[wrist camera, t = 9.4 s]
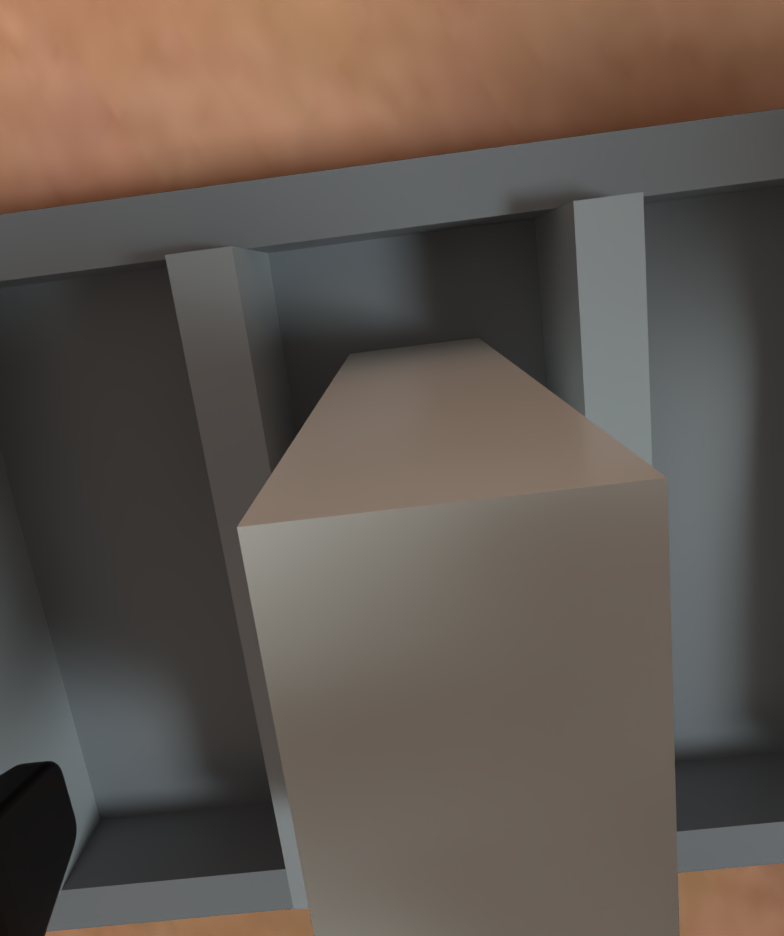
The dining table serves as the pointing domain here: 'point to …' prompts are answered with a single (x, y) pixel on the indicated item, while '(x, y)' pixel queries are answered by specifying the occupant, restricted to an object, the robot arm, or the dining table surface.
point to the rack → (286, 410)
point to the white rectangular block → (468, 656)
